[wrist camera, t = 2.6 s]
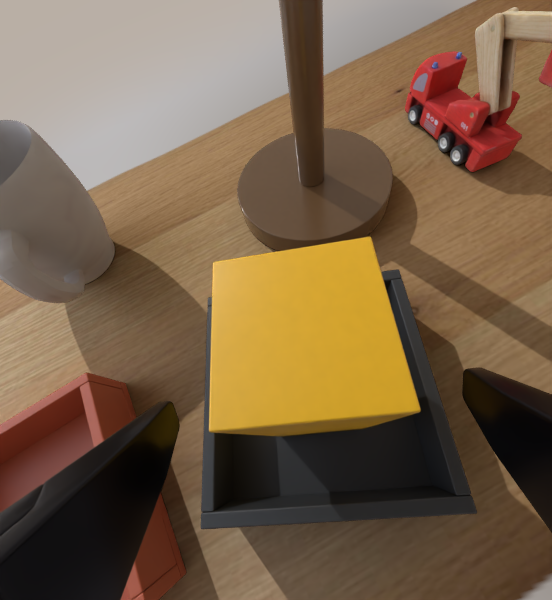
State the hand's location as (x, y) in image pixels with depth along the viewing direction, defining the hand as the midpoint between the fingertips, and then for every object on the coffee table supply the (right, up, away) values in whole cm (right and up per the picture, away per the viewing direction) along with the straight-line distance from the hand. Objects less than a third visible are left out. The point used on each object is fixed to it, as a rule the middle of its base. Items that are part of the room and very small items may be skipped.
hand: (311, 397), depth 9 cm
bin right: (+1, -3, +8) cm, 9 cm away
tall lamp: (+2, +12, +15) cm, 19 cm away
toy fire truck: (+14, +16, +15) cm, 26 cm away
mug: (-17, +5, +16) cm, 24 cm away
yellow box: (+1, -2, +8) cm, 8 cm away
